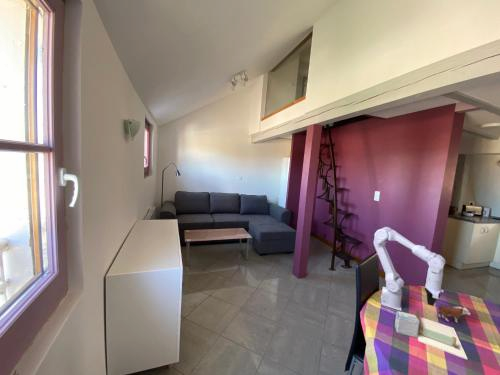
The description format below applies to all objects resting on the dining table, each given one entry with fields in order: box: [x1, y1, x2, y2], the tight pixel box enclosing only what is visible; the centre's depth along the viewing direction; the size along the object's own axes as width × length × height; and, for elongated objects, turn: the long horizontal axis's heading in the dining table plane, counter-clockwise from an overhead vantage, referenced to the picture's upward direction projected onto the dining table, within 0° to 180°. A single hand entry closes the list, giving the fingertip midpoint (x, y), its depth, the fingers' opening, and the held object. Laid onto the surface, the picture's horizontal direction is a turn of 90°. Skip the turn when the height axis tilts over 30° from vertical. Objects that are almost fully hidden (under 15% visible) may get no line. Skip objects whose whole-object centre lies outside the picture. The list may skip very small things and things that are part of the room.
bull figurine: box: [437, 305, 471, 324], centre depth 109 cm, size 4×13×8 cm, turn 78°
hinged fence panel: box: [418, 325, 457, 347], centre depth 95 cm, size 13×2×4 cm, turn 58°
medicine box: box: [394, 310, 419, 339], centre depth 100 cm, size 8×4×9 cm, turn 71°
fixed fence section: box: [414, 310, 421, 325], centre depth 104 cm, size 1×12×4 cm, turn 148°
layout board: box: [417, 316, 468, 360], centre depth 99 cm, size 16×20×1 cm
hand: (430, 304), depth 107 cm, fingers closed
